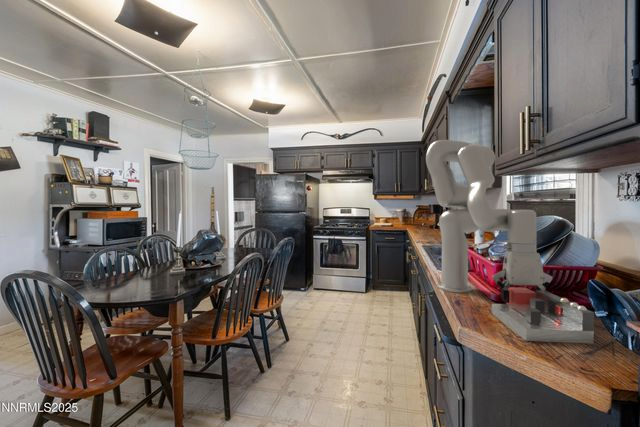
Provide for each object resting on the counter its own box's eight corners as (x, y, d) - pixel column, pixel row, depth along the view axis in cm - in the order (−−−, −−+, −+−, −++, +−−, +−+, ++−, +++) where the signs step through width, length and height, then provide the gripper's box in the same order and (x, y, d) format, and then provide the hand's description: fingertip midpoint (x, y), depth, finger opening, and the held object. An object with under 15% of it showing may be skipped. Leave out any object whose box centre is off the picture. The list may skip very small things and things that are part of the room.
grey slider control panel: (491, 313, 89) (491, 286, 89) (544, 315, 88) (544, 287, 87) (526, 340, 71) (526, 307, 71) (593, 343, 70) (594, 308, 69)
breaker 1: (530, 308, 84) (530, 298, 84) (539, 308, 84) (539, 298, 84) (535, 311, 82) (535, 300, 82) (544, 311, 82) (544, 301, 82)
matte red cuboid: (505, 305, 96) (506, 287, 96) (525, 305, 96) (525, 287, 95) (515, 311, 90) (516, 292, 90) (536, 312, 90) (537, 293, 89)
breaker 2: (525, 319, 77) (525, 308, 76) (535, 319, 76) (535, 308, 76) (530, 323, 74) (530, 311, 74) (540, 323, 74) (541, 311, 74)
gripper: (498, 250, 89) (498, 305, 90) (559, 250, 87) (559, 306, 88) (487, 246, 97) (487, 297, 97) (543, 246, 95) (543, 298, 95)
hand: (521, 301), depth 93 cm, fingers open, 9 cm apart
